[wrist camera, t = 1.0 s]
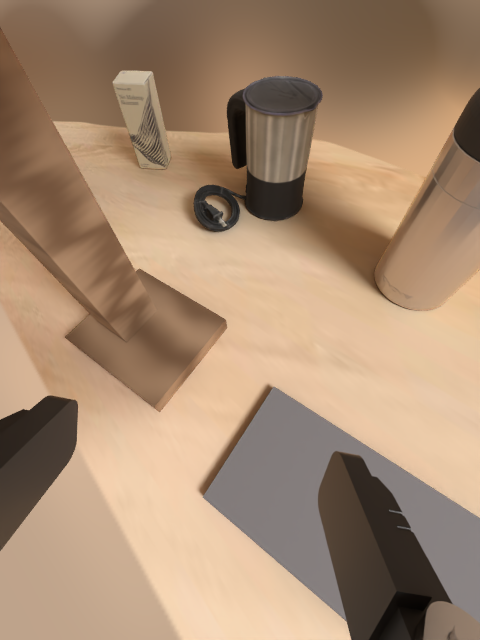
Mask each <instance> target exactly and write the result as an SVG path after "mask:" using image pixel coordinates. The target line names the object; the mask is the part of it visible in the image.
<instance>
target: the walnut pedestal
mask: <svg viewBox="0 0 480 640" xmlns="http://www.w3.org/2000/svg"><path fill="white" fill-rule="evenodd" d="M0 220H1V221H2V222H3V224H4V225H5V226H6V227H7V228H8V229H9V230H10V231H11V232H12V233H13V234H14V235H15V236H16V237H17V238H18V239H19V240H20V241H21V242H22V243H23V244H24V245H25V247H26V248H27V249H28V250H29V251H30V252H31V253H32V254H33V255H34V256H35V257H36V258H37V259H38V260H39V261H40V262H41V263H42V264H43V265H44V266H45V267H46V268H47V270H48V271H49V272H50V273H51V274H52V275H53V276H54V277H55V278H56V279H57V280H58V281H59V282H60V283H61V284H62V285H63V286H64V287H65V288H66V289H67V290H68V291H69V293H70V294H71V295H72V296H73V297H74V298H75V299H76V300H77V301H78V302H79V303H80V304H81V305H82V306H83V307H84V308H85V309H86V310H87V311H88V312H89V313H90V314H89V315H88V316H87V317H86V318H85V319H84V320H83V321H82V322H81V323H80V324H79V325H78V326H76V327H75V328H74V329H73V330H72V331H71V332H70V333H69V334H68V335H67V336H66V337H65V338H66V339H68V340H69V341H70V342H71V343H73V344H74V345H75V346H77V347H78V348H79V349H80V350H82V351H83V352H84V353H85V354H87V355H88V356H89V357H90V358H92V359H93V360H94V361H96V362H97V363H98V364H99V365H101V366H102V367H103V368H104V369H106V370H107V371H108V372H109V373H111V374H112V375H113V376H114V377H116V378H117V379H118V380H120V381H121V382H122V383H123V384H125V385H126V386H127V387H128V388H130V389H131V390H132V391H133V392H135V393H136V394H137V395H139V396H140V397H141V398H142V399H144V400H145V401H146V402H147V403H149V404H150V405H151V406H152V407H154V408H155V409H156V410H158V411H159V412H160V411H161V410H162V409H163V407H164V406H165V405H166V404H167V402H168V401H169V400H170V399H171V397H172V396H173V395H174V394H175V392H176V391H177V390H178V389H179V387H180V386H181V385H182V384H183V382H184V381H185V380H186V379H187V377H188V376H189V375H190V374H191V372H192V371H193V370H194V369H195V367H196V366H197V365H198V364H199V362H200V361H201V360H202V359H203V357H204V356H205V355H206V354H207V352H208V351H209V350H210V349H211V347H212V346H213V345H214V344H215V342H216V341H217V340H218V339H219V337H220V336H221V335H222V334H223V332H224V331H225V330H226V329H227V324H226V320H225V319H224V318H222V317H220V316H219V315H217V314H215V313H214V312H212V311H210V310H209V309H207V308H205V307H203V306H202V305H200V304H198V303H197V302H195V301H193V300H192V299H190V298H188V297H187V296H185V295H183V294H181V293H180V292H178V291H176V290H175V289H173V288H171V287H170V286H168V285H166V284H165V283H163V282H161V281H160V280H158V279H156V278H154V277H153V276H151V275H149V274H148V273H146V272H144V271H143V270H141V269H138V270H137V271H135V270H134V268H133V266H132V264H131V262H130V261H129V259H128V257H127V255H126V253H125V252H124V250H123V248H122V246H121V244H120V243H119V241H118V239H117V237H116V235H115V234H114V232H113V230H112V228H111V226H110V224H109V223H108V221H107V219H106V217H105V215H104V214H103V212H102V210H101V208H100V206H99V205H98V203H97V201H96V199H95V197H94V196H93V194H92V192H91V190H90V188H89V187H88V185H87V183H86V181H85V179H84V178H83V176H82V174H81V172H80V170H79V169H78V167H77V165H76V163H75V161H74V159H73V158H72V156H71V154H70V152H69V150H68V149H67V147H66V145H65V143H64V141H63V140H62V138H61V136H60V134H59V132H58V131H57V129H56V127H55V125H54V123H53V122H52V120H51V118H50V116H49V114H48V113H47V111H46V109H45V107H44V105H43V104H42V102H41V100H40V98H39V96H38V94H37V93H36V91H35V89H34V87H33V86H32V84H31V82H30V80H29V78H28V76H27V75H26V73H25V71H24V69H23V67H22V66H21V64H20V62H19V60H18V58H17V57H16V55H15V53H14V51H13V50H12V48H11V46H10V44H9V42H8V40H7V39H6V37H5V35H4V33H3V31H2V29H1V28H0Z"/></svg>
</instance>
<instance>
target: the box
mask: <svg viewBox="0 0 480 640" xmlns="http://www.w3.org/2000/svg"><path fill="white" fill-rule="evenodd" d="M113 87H114V90H115V93H116V95H117V99H118V102H119V105H120V108H121V111H122V114H123V117H124V120H125V123H126V126H127V129H128V132H129V135H130V138H131V141H132V144H133V147H134V150H135V154H136V157H137V160H138V163H139V166H140V167H141V168H149V169H166V168H167V166H168V163H169V161H170V158H171V153H170V148H169V144H168V140H167V135H166V131H165V127H164V123H163V118H162V114H161V109H160V105H159V100H158V95H157V91H156V87H155V82H154V77H153V73H152V72H151V71H121V72H120V73H119V74H118V76H117V77H116V78H115V80H114V81H113Z"/></svg>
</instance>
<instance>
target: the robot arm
mask: <svg viewBox="0 0 480 640" xmlns="http://www.w3.org/2000/svg"><path fill="white" fill-rule="evenodd" d="M479 270H480V88H479V89H478V90H477V91H476V92H475V94H474V95H473V96H472V97H471V99H470V100H469V102H468V104H467V105H466V107H465V109H464V111H463V112H462V114H461V116H460V118H459V119H458V121H457V123H456V125H455V127H454V128H453V130H452V132H451V134H450V136H449V138H448V139H447V141H446V143H445V145H444V146H443V148H442V150H441V152H440V153H439V155H438V157H437V159H436V161H435V162H434V164H433V166H432V168H431V170H430V172H429V173H428V175H427V177H426V179H425V181H424V182H423V184H422V186H421V188H420V189H419V191H418V193H417V195H416V197H415V198H414V200H413V202H412V204H411V206H410V207H409V209H408V211H407V213H406V214H405V216H404V218H403V220H402V222H401V223H400V225H399V227H398V229H397V230H396V232H395V234H394V236H393V238H392V239H391V241H390V243H389V245H388V246H387V248H386V250H385V252H384V253H383V255H382V257H381V259H380V261H379V262H378V264H377V266H376V268H375V273H374V276H375V282H376V284H377V286H378V288H379V289H380V291H381V292H382V293H383V294H384V295H385V296H386V297H387V298H388V299H389V300H391V301H392V302H394V303H396V304H398V305H400V306H402V307H405V308H408V309H412V310H431V309H435V308H437V307H439V306H441V305H443V304H444V303H445V302H446V301H447V300H448V299H449V298H450V297H451V296H452V295H453V294H454V293H456V292H457V291H458V290H459V289H460V288H461V287H462V286H463V285H464V284H465V283H466V282H467V281H468V280H469V279H470V278H471V277H473V276H474V275H475V274H476V273H477V272H478V271H479ZM77 417H78V404H77V401H75V400H71V399H66V398H61V397H56V396H47V397H45V398H44V399H42V400H41V401H40V402H39V403H38V404H36V405H35V406H34V407H33V408H32V409H30V410H24V409H23V410H21V411H18V412H16V413H14V414H12V415H10V416H7V417H5V418H3V419H1V420H0V551H1V549H2V548H3V547H4V546H5V544H6V543H7V541H8V540H9V539H10V538H11V536H12V535H13V534H14V533H15V531H16V530H17V529H18V527H19V526H20V525H21V523H22V522H23V521H24V519H25V518H26V517H27V516H28V514H29V513H30V512H31V510H32V509H33V508H34V506H35V505H36V504H37V503H38V501H39V500H40V499H41V497H42V496H43V495H44V493H45V492H46V491H47V490H48V488H49V487H50V486H51V484H52V483H53V482H54V480H55V479H56V478H57V477H58V475H59V474H60V473H61V471H62V470H63V469H64V467H65V466H66V465H67V463H68V462H69V460H70V459H71V457H72V455H73V452H74V450H75V446H76V441H77ZM318 508H319V513H320V517H321V521H322V525H323V529H324V533H325V537H326V541H327V545H328V549H329V553H330V557H331V561H332V565H333V569H334V573H335V576H336V580H337V584H338V588H339V592H340V596H341V600H342V604H343V608H344V612H345V616H346V620H347V624H348V628H349V632H350V636H351V640H480V623H479V622H478V621H477V620H476V619H474V618H473V617H472V616H471V615H470V614H468V613H467V612H465V611H464V610H462V609H461V608H459V607H457V606H455V605H453V603H452V602H451V600H450V598H449V596H448V595H447V593H446V591H445V589H444V587H443V585H442V584H441V582H440V580H439V578H438V576H437V574H436V573H435V571H434V569H433V567H432V565H431V563H430V562H429V560H428V558H427V556H426V554H425V552H424V551H423V549H422V547H421V545H420V543H419V541H418V540H417V538H416V536H415V534H414V532H411V527H410V525H409V523H408V521H407V520H406V518H405V516H403V515H402V510H401V509H400V507H399V505H398V503H397V501H396V499H395V498H394V496H393V494H392V493H391V492H390V490H389V489H388V488H387V487H386V486H385V485H384V484H383V483H382V482H381V481H380V479H379V478H378V477H374V476H372V475H371V473H370V471H369V469H368V467H367V465H366V463H365V461H364V460H363V458H362V457H361V456H359V455H355V454H350V453H344V452H339V451H335V452H333V454H332V456H331V458H330V461H329V463H328V466H327V469H326V471H325V474H324V477H323V479H322V482H321V484H320V487H319V492H318Z"/></svg>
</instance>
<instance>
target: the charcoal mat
mask: <svg viewBox="0 0 480 640" xmlns="http://www.w3.org/2000/svg"><path fill="white" fill-rule="evenodd" d="M335 451H339V452H344V453H350V454H355V455H359V456H361V457H362V458H363V460H364V461H365V463H366V465H367V467H368V469H369V471H370V473H371V475H372V476H374V477H378V478H379V479H380V481H381V482H382V483H383V484H384V485H385V486H386V487H387V488H388V489H389V490H390V492H391V493H392V494H393V496H394V498H395V499H396V501H397V503H398V505H399V507H400V509H401V510H402V515H403V516H405V518H406V520H407V521H408V523H409V525H410V527H411V532H414V534H415V536H416V538H417V540H418V541H419V543H420V545H421V547H422V549H423V551H424V552H425V554H426V556H427V558H428V560H429V562H430V563H431V565H432V567H433V569H434V571H435V573H436V574H437V576H438V578H439V580H440V582H441V584H442V585H443V587H444V589H445V591H446V593H447V595H448V596H449V598H450V600H451V602H452V603H453V605H455V606H457V607H459V608H461V609H462V610H464V611H465V612H467V613H468V614H470V615H471V616H472V617H473V618H474V619H476V620H477V621H478V622H479V623H480V518H478V517H477V516H475V515H474V514H472V513H471V512H469V511H468V510H466V509H464V508H463V507H461V506H460V505H458V504H457V503H455V502H453V501H452V500H450V499H449V498H447V497H446V496H444V495H443V494H441V493H439V492H438V491H436V490H435V489H433V488H432V487H430V486H428V485H427V484H425V483H424V482H422V481H421V480H419V479H418V478H416V477H414V476H413V475H411V474H410V473H408V472H407V471H405V470H404V469H402V468H400V467H399V466H397V465H396V464H394V463H393V462H391V461H389V460H388V459H386V458H385V457H383V456H382V455H380V454H379V453H377V452H375V451H374V450H372V449H371V448H369V447H368V446H366V445H364V444H363V443H361V442H360V441H358V440H357V439H355V438H354V437H352V436H350V435H349V434H347V433H346V432H344V431H343V430H341V429H340V428H338V427H336V426H335V425H333V424H332V423H330V422H329V421H327V420H325V419H324V418H322V417H321V416H319V415H318V414H316V413H315V412H313V411H311V410H310V409H308V408H307V407H305V406H304V405H302V404H300V403H299V402H297V401H296V400H294V399H293V398H291V397H290V396H288V395H286V394H285V393H283V392H282V391H280V390H279V389H277V388H275V387H273V388H272V390H271V392H270V393H269V395H268V396H267V398H266V399H265V401H264V402H263V404H262V406H261V407H260V409H259V410H258V412H257V413H256V415H255V416H254V418H253V420H252V421H251V423H250V424H249V426H248V427H247V429H246V430H245V432H244V434H243V435H242V437H241V438H240V440H239V441H238V443H237V444H236V446H235V448H234V449H233V451H232V452H231V454H230V455H229V457H228V458H227V460H226V462H225V463H224V465H223V466H222V468H221V469H220V471H219V472H218V474H217V476H216V477H215V479H214V480H213V482H212V483H211V485H210V486H209V488H208V490H207V491H206V493H205V494H204V496H203V498H204V499H205V500H207V501H208V502H209V503H210V504H211V505H212V506H214V507H215V508H216V509H217V510H218V511H219V512H220V513H222V514H223V515H224V516H225V517H226V518H227V519H229V520H230V521H231V522H232V523H233V524H234V525H236V526H237V527H238V528H239V529H240V530H241V531H243V532H244V533H245V534H246V535H247V536H248V537H249V538H251V539H252V540H253V541H254V542H255V543H256V544H258V545H259V546H260V547H261V548H262V549H263V550H265V551H266V552H267V553H268V554H269V555H270V556H271V557H273V558H274V559H275V560H276V561H277V562H278V563H280V564H281V565H282V566H283V567H284V568H285V569H287V570H288V571H289V572H290V573H291V574H292V575H294V576H295V577H296V578H297V579H298V580H299V581H300V582H302V583H303V584H304V585H305V586H306V587H307V588H309V589H310V590H311V591H312V592H313V593H314V594H316V595H317V596H318V597H319V598H320V599H321V600H323V601H324V602H325V603H326V604H327V605H328V606H329V607H331V608H332V609H333V610H334V611H335V612H336V613H338V614H339V615H340V616H341V617H342V618H343V619H345V620H346V616H345V612H344V608H343V604H342V600H341V596H340V592H339V588H338V584H337V580H336V576H335V573H334V569H333V565H332V561H331V557H330V553H329V549H328V545H327V541H326V537H325V533H324V529H323V525H322V521H321V517H320V513H319V508H318V492H319V487H320V484H321V482H322V479H323V477H324V474H325V471H326V469H327V466H328V463H329V461H330V458H331V456H332V454H333V452H335ZM346 621H347V620H346Z"/></svg>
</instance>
